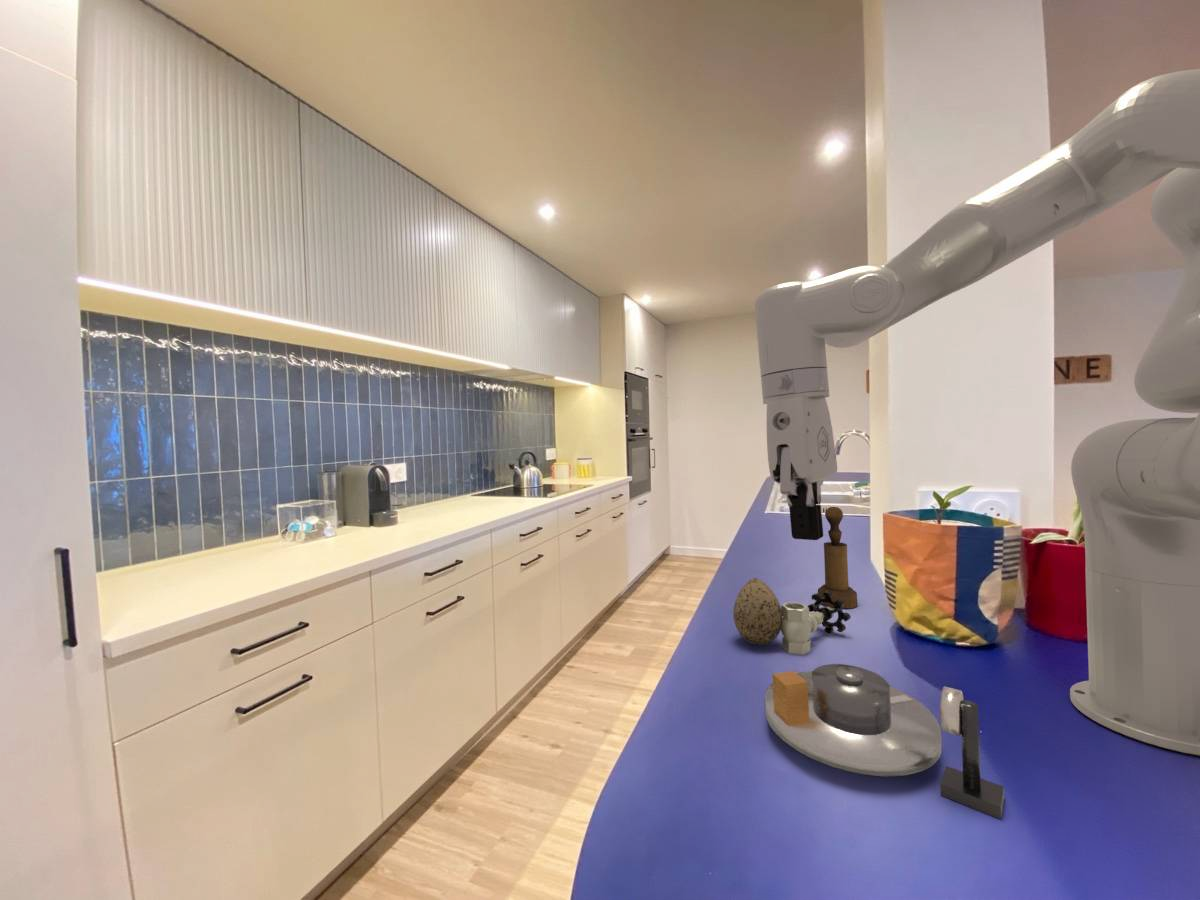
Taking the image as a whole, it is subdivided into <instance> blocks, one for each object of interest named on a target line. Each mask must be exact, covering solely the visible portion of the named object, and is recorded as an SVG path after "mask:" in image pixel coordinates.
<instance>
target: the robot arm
mask: <svg viewBox="0 0 1200 900" xmlns="http://www.w3.org/2000/svg"><path fill="white" fill-rule="evenodd" d="M1163 177H1164V178H1163ZM1159 179H1162V180H1161V181H1160V183H1159V184H1158V185H1157V186H1156V188H1155V190H1154V192H1153V194H1152V196H1151V197H1152V198H1151V200H1150V208H1149V209H1150V215H1151V220H1152V221H1153V224H1154V225H1155V226H1156V228H1157V229H1158V231H1160V233H1161V234H1162V235H1163V236H1164V237H1165V238H1166V239H1167V240H1168V242H1170V244H1172V246H1173V247H1174V249H1175V250H1176V251H1177V253H1178V254H1179V256H1180V259H1181V261H1182V264H1183V272H1182V273H1183V275H1182V279H1181V282H1180V284H1179V286H1178V289H1177V291H1176V293H1175V296H1174V298H1173V300H1172V301H1171V303H1170V305H1169V307H1168V309H1167V310H1166V312H1165V314H1164V316H1163V318H1162V320H1161V322H1160V323H1159V325H1158V326H1157V328H1156V331H1155V333H1154V335H1153V337H1152V338H1151V340H1150V341H1149V343H1148V345H1147V347H1146V349H1145V351H1144V352H1143V355H1142V356H1141V359H1140V360H1139V362H1138V365H1137V368H1136V371H1135V373H1134V379H1133V380H1134V387H1135V388H1134V389H1135V391H1136V394H1137V395H1138V397H1139V398H1140V400H1143V401H1144V403H1147V404H1148V405H1150V406H1151V407H1154V408H1156V409H1159V410H1163V411H1166V412H1172V413H1181V414H1197V416H1196V417H1169V418H1166V417H1165V418H1162V417H1161V418H1147V419H1146V418H1145V419H1144V418H1143V419H1142V418H1141V419H1134V420H1133V419H1131V420H1126V421H1120V422H1115V423H1113V424H1108V425H1106V426H1102V427H1101V428H1098V429H1096V430H1095V431H1093V432H1091V433H1090V434H1089V435H1087V436H1086V437H1085V438H1084V439H1083V440H1081V441H1080V443H1079V444H1078V446H1077V447H1076V449H1075V451H1074V453H1073V456H1072V459H1071V467H1070V471H1071V479H1072V484H1073V488H1074V492H1075V496H1076V499H1077V502H1078V506H1079V510H1080V515H1081V521H1082V527H1083V534H1084V535H1083V537H1084V550H1085V551H1084V552H1085V553H1084V554H1085V558H1084V559H1085V565H1084V566H1085V569H1084V570H1085V599H1086V626H1087V659H1088V680H1083V681H1080V682H1076V683H1074V684H1073V685H1071V687H1070V689H1069V691H1070V692H1069V699H1070V700H1071V701H1070V702H1071V704H1072V705H1074V707H1075V708H1076V709H1077V710H1078V711H1080V713H1082V714H1083V715H1084V716H1086V717H1088V718H1089V719H1091V720H1092V721H1095V722H1096V723H1098V724H1100V725H1101V726H1104V727H1106V728H1108V729H1110V730H1112V731H1114V732H1117V733H1119V734H1122V735H1124V736H1126V737H1128V738H1131V739H1135V740H1137V741H1140V742H1143V743H1146V744H1150V745H1153V746H1155V747H1156V746H1157V747H1159V748H1162V749H1167V750H1171V751H1176V752H1179V753H1183V754H1187V755H1188V754H1189V755H1195V756H1199V757H1200V68H1197V69H1195V68H1194V69H1188V70H1180V71H1174V72H1170V73H1166V74H1160V75H1157V76H1153V77H1151V78H1149V79H1146V80H1144V81H1141V82H1140V83H1137V84H1136V85H1134V86H1132V87H1130V88H1129V89H1128V90H1126V91H1125V92H1124V93H1122V94H1121V95H1119V96H1118V98H1116V99H1115V100H1114V101H1113V102H1112V103H1110V104H1109V105H1108V106H1107V107H1105V108H1104V109H1103V110H1102V111H1101V112H1100V113H1098V115H1096V116H1095V117H1094V118H1093V119H1091V121H1089V122H1088V123H1087V124H1086V125H1084V127H1083V128H1081V129H1080V130H1079V131H1078V132H1077V133H1074V134H1073V135H1072V136H1071V137H1069V138H1068V139H1066V140H1064V142H1061V143H1060V144H1059V145H1057V146H1055V147H1053V148H1051V149H1050V150H1049V151H1046V152H1045V153H1043V154H1042V155H1039V156H1038V157H1036V158H1035V159H1033V160H1031V161H1030V162H1028V163H1026V164H1025V165H1023V166H1021V167H1020V168H1019V169H1017V170H1015V171H1013V172H1011V173H1010V174H1008V175H1006V176H1004V177H1003V178H1002V179H1000V180H998V181H996V182H994V183H993V184H991V185H990V186H987V187H986V188H984V189H983V190H981V191H979V192H978V193H976V194H974V195H971V196H970V197H969V198H967V199H965V200H964V201H962V202H961V203H959V204H958V205H957V206H955V207H954V208H952V209H951V210H950V211H949V212H947V213H946V214H944V215H943V216H941V218H940V219H938V220H937V221H936V222H935V223H934V224H933V225H932V226H930V227H929V228H928V229H927V230H926V231H925V232H924V233H923V234H922V235H920V236H919V237H918V238H917V239H916V240H915V241H914V242H913V243H911V244H910V245H908V246H907V247H906V248H905V249H903V250H902V251H901V252H899V253H897V254H896V256H894V257H892V258H891V259H890V260H888V261H886V262H885V263H883V264H882V265H878V264H867V265H865V264H864V265H858V266H855V267H852V268H847V269H845V270H842V271H839V272H836V273H833V274H829V275H826V276H823V277H818V278H817V279H812V280H808V281H805V280H803V281H802V280H799V281H798V280H797V281H786V282H783V283H779V284H776V285H773V286H770V287H768V288H767V289H765V290H763V291H761V292H760V293H759V295H758V296H757V297H756V300H755V303H754V314H755V325H756V336H757V337H756V338H757V347H758V361H759V369H760V371H759V372H760V383H761V394H762V403H763V405H766V445H767V446H766V450H767V460H768V462H767V463H768V469H769V475H770V479H771V480H773V481H774V482H775V483H777V484H779V489H780V491H779V492H780V495H781V494H782V495H783V496H785V497H786V502H787V506H788V508H789V518H790V520H789V521H790V528H791V529H790V530H791V537H792V538H793V539H794V540H805V541H806V540H807V541H818V540H820V539H821V538H823V537H824V528H823V526H824V525H823V515H822V505H821V504H822V488H821V487H822V485H824V480H826V479H830V478H832V477H834V476H835V475H836V474H837V472H838V462H837V453H836V446H835V439H834V433H833V426H832V420H831V415H830V410H829V406H828V402H827V399H826V398H828V397H830V387H829V384H830V383H829V375H828V365H827V364H828V362H827V354H826V353H827V351H826V350H827V349H826V345H827V346H830V347H833V348H839V349H840V348H841V349H843V348H844V349H845V348H851V347H855V346H858V345H860V344H862V343H864V342H866V341H867V340H869V339H871V338H872V337H874V336H876V335H878V334H879V333H881V332H883V331H885V330H886V329H889V328H891V327H892V326H894V325H896V324H898V323H899V322H901V321H903V320H905V319H906V318H908V317H911V316H912V315H915V313H917V312H920V311H921V310H923V309H925V308H927V307H928V306H930V305H932V304H934V303H936V302H937V301H939V300H941V299H943V298H945V297H948V296H949V295H951V294H953V293H956V292H958V291H960V290H963V289H965V288H967V287H969V286H971V285H972V284H975V283H977V282H979V281H980V280H983V279H985V278H986V277H988V276H989V275H991V274H993V273H994V272H996V271H999V270H1000V269H1002V268H1005V267H1006V266H1008V265H1009V264H1011V263H1013V262H1015V261H1017V260H1018V259H1020V258H1021V257H1024V256H1026V255H1028V254H1030V253H1032V252H1033V251H1035V250H1036V249H1038V248H1039V247H1042V246H1043V245H1045V244H1047V243H1049V242H1051V241H1053V240H1055V239H1056V238H1059V236H1062V235H1064V234H1065V233H1066V232H1069V231H1071V230H1073V229H1075V228H1077V227H1078V226H1080V225H1082V224H1083V223H1085V222H1087V221H1089V220H1091V219H1093V218H1095V217H1096V216H1098V215H1101V214H1103V212H1105V211H1107V210H1109V209H1111V208H1113V207H1114V206H1116V205H1118V204H1120V203H1122V202H1123V201H1124V200H1126V199H1128V198H1130V197H1131V196H1133V195H1134V194H1136V193H1137V192H1139V191H1141V190H1143V189H1145V188H1146V187H1148V186H1149V185H1151V184H1153V183H1155V182H1157V181H1158V180H1159Z"/></svg>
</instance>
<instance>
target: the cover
mask: <svg viewBox="0 0 1200 900" xmlns="http://www.w3.org/2000/svg"><path fill="white" fill-rule="evenodd" d="M812 671H813V672H812V689H813V710H814V712H815V714H816V715H817V717H818V718H819V719H820V720H822V721H823V722H824V723H826V724H828V725H829V726H831V727H833V728H836V729H838V730H841V731H844V732H848V733H852V734H858V735H877V734H881V733H884V732H886V731H887V730H888V729H889V728H890V727H891V706H890V686H891V685H890V684H889V681H887V680H886V679H885V678H884V677H882V676H881V675H879V674H878V673H876V672H874V671H872V670H869V669H867V668H863V667H861V666H855V665H851V664H845V663H844V664H842V663H841V664H840V663H830V664H823V665H819V666H818V667H816V668H814V669H813V670H812Z"/></svg>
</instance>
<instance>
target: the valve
mask: <svg viewBox="0 0 1200 900" xmlns="http://www.w3.org/2000/svg"><path fill="white" fill-rule="evenodd" d="M823 595H824V596H825V597H824V598H821V596H820V595H819V594H818V592H817V593H813V594H812V595H811V600H812V601H813V600H814V601H815V602H813V603H810V604H808V605H807V604H804V603H801V602H797V601H788V602H784V603H782V604H781V605H780V607H781V615H782V622H781V630H780V633H781V634H782V638H781V639H782V643H781V644H782V649H783V648H784V649H783V650H784V651H786V652H787V654H793V655H800V656H804V655H806V654H808V653H809V652H811V640H810V637H811V634H812V633H813V632H815V631H817V629H818V627H819V625H820V624H821V625H822V627H824V628H823V630H824V633H826V634H831V633H833V632H834V629H835V627H836V631H837V632H838V633H842V632H844V631H846V630H847V627H846V625H845V624H844V623H843V622H848V621H849V620H851V615H850V613H848V612H844V611H843V609H841V607H843V606H844V605H845V602H844V600H842V599H839V600H836V601H834V600H833V599H832V596H833V595H832V593H831V592H830V591H827V592H824V593H823ZM822 602H828V603H831V604H832V605H833V606H834V607H835V608H834V607H829V606H823V607H820V606H821V605H822V604H821V603H822ZM836 613H837V619H836V621H834V622H831V621H830V620H831V619H832V618H833V617H834V616H835V614H836Z"/></svg>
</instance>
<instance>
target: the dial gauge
mask: <svg viewBox="0 0 1200 900" xmlns="http://www.w3.org/2000/svg"><path fill="white" fill-rule="evenodd" d="M939 702H940V704H939V720H940V721H939V723H940V724H939V725H940V729H941V731H944V732H946V733H949V734H952V735H956V736H959V737H961V762H962V766H961V767H962V770H959V769H956V768H954V767H952V766H948V765H946V766H945V769H944V771H943V775H942V777H941V781H940V783H939V785H940V787H939V789H940V796H942V797H945V798H947V799H949V800H951V801H954V802H957V803H958V804H959V803H960V804H962V805H963V806H967V807H969V808H971V809H974V810H977V811H978V812H981V813H984V814H987V815H990V816H992V817H995V818H997V819H1000V820H1002V815H1003V810H1004V803H1005V786H1004V785H1000V784H998V783H995V782H992V781H989V780H987V779H984V778H981V756H980V754H981V753H980V752H981V751H980V733H979V732H980V728H979V726H980V724H979V723H980V722H979V705H978V704H977V703H975V702H974V701H970V700H967V699H965V700H964V695H963V691H962V690H960V689H956V688H953V687H949V686H948V687H947V686H942V689H941V695H940V701H939Z"/></svg>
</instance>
